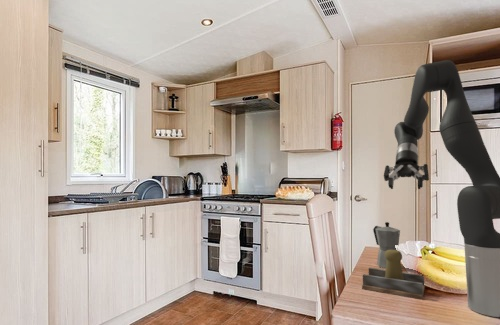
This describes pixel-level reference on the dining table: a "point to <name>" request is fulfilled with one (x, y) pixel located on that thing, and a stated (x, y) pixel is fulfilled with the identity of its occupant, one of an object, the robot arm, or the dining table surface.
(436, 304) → the dining table surface
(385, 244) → the coffeepot
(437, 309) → the dining table surface
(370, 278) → the walnut track
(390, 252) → the olive waisted cylinder
